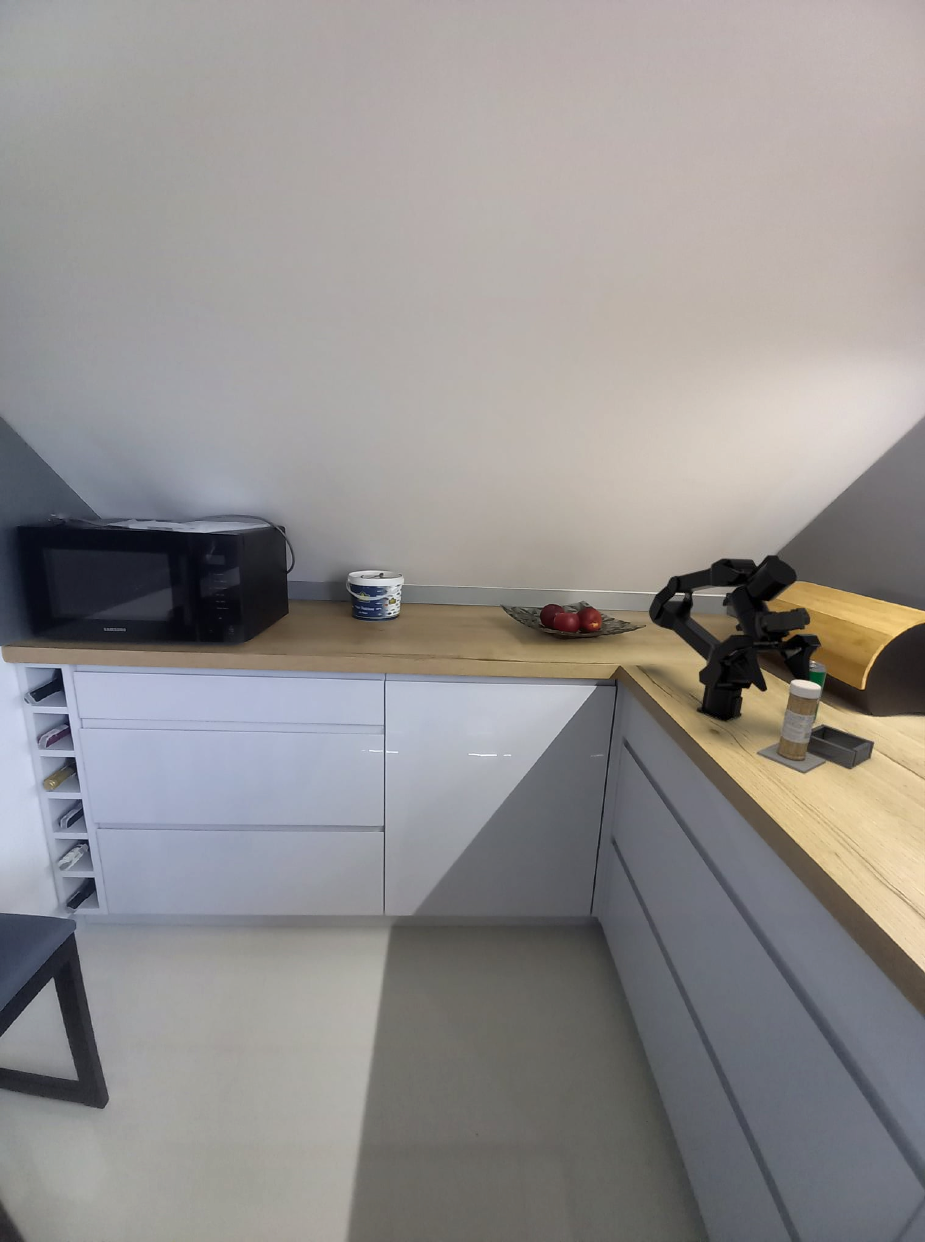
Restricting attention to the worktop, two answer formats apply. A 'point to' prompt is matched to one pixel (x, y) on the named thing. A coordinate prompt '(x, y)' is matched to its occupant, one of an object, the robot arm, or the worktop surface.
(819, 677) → the soda can
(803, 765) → the rubber pad
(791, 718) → the sprinkles bottle
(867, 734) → the worktop surface
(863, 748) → the grey open box
